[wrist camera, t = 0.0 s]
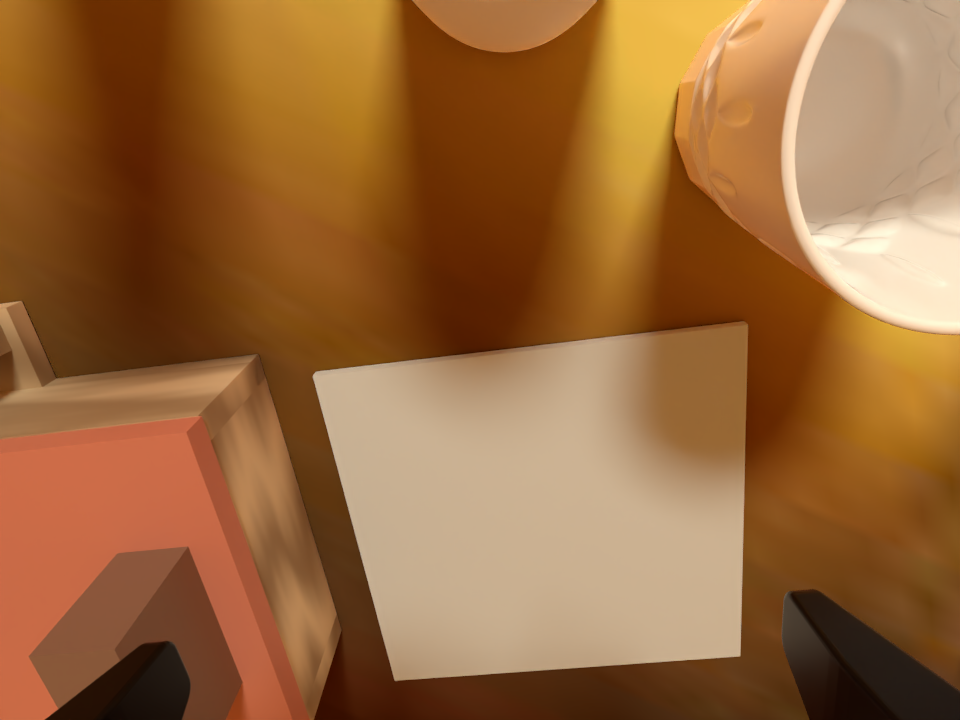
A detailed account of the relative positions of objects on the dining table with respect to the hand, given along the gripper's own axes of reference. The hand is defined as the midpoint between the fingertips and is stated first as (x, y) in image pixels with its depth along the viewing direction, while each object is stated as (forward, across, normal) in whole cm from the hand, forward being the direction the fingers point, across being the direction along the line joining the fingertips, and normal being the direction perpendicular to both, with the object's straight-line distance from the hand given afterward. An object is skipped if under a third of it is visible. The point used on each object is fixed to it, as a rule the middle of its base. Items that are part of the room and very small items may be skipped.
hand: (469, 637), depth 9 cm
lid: (+10, +16, +7) cm, 20 cm away
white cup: (+15, -10, -6) cm, 19 cm away
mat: (+15, -1, +9) cm, 17 cm away
